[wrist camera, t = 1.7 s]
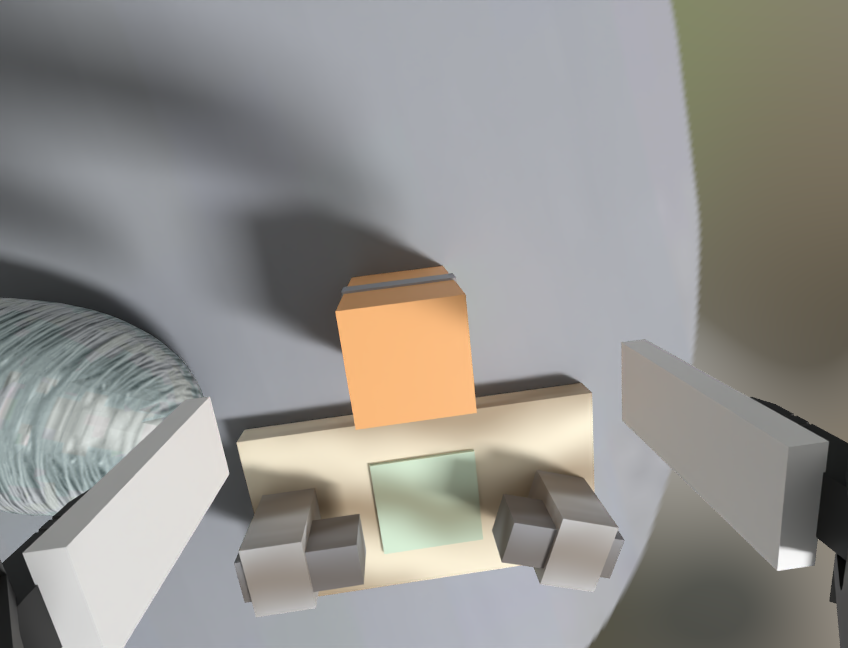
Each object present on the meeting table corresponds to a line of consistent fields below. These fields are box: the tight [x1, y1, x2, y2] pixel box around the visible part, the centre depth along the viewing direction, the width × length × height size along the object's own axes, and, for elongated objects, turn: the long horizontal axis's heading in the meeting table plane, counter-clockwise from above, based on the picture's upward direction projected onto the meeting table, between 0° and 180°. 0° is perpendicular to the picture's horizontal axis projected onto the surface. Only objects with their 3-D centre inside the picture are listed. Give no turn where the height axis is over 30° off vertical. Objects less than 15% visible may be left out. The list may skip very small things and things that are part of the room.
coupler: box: [335, 266, 477, 430], centre depth 22 cm, size 5×5×8 cm
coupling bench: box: [234, 383, 625, 617], centre depth 26 cm, size 11×20×6 cm, turn 97°
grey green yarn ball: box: [0, 298, 203, 516], centre depth 22 cm, size 14×10×10 cm
